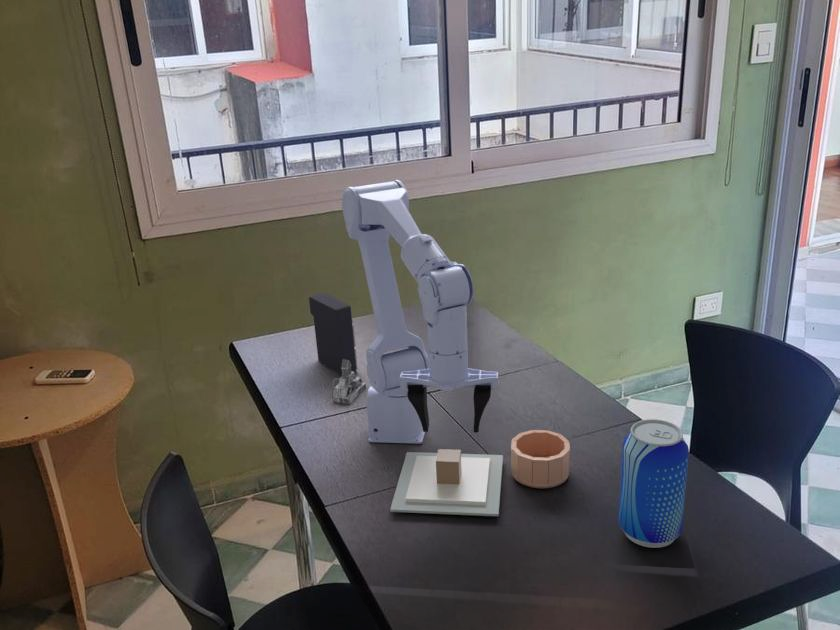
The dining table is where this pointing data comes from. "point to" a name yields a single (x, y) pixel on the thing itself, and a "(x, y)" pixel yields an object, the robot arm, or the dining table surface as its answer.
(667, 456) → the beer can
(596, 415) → the dining table surface
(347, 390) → the grey crystal cluster
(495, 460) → the mat
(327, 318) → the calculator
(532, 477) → the bowl
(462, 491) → the cover sheet
